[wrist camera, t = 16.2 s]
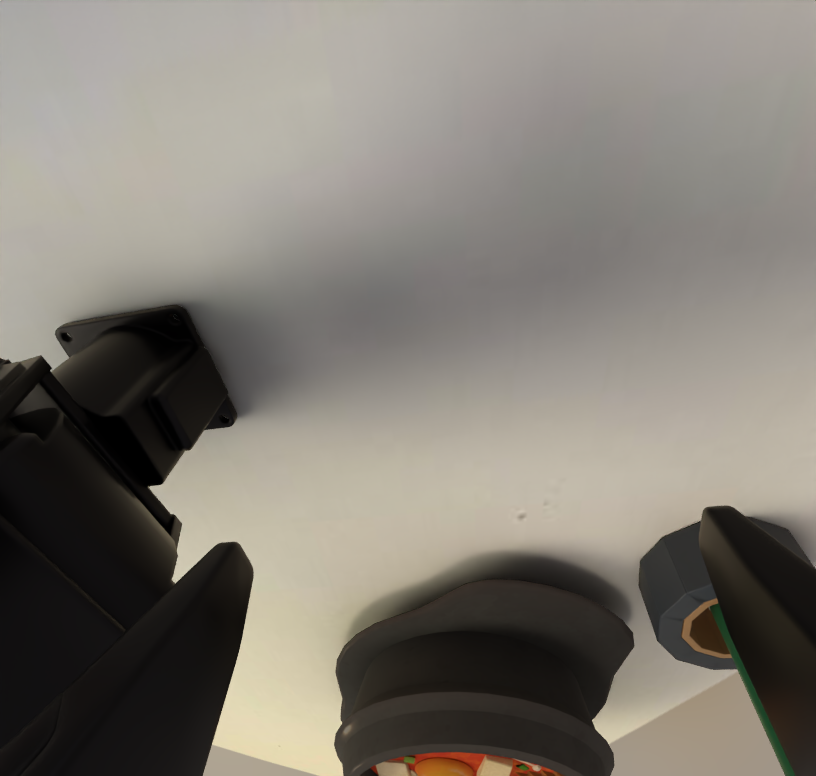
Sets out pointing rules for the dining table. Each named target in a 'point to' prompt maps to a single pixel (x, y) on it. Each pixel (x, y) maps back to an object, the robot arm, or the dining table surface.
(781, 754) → the pencil
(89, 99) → the dining table surface
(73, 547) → the robot arm
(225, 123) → the dining table surface
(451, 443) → the dining table surface
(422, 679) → the casserole
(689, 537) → the tape roll
